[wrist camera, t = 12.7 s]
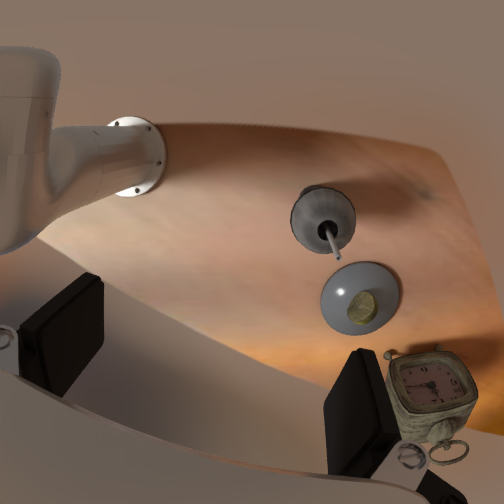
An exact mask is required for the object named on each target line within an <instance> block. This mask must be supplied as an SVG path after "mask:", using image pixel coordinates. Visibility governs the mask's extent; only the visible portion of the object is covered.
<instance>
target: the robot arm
mask: <svg viewBox="0 0 504 504" xmlns="http://www.w3.org/2000/svg"><path fill="white" fill-rule="evenodd" d="M60 80H61V67H60V63H59V60H58V59H57V57H56V56H55V55H53V54H52V53H50V52H49V51H46V50H43V49H39V48H34V47H24V46H0V255H4V254H7V253H10V252H12V251H15V250H17V249H19V248H20V247H22V246H23V245H25V244H27V243H28V242H30V241H31V240H32V239H33V238H35V237H36V236H37V235H38V234H39V233H40V232H41V231H42V230H44V229H45V228H46V227H47V226H48V225H49V224H50V223H52V222H53V221H54V220H56V219H57V218H59V217H61V216H63V215H65V214H67V213H69V212H71V211H73V210H75V209H78V208H80V207H83V206H85V205H88V204H90V203H93V202H95V201H98V200H100V199H103V198H105V197H108V196H110V195H113V194H116V195H118V196H121V197H135V196H138V195H141V194H144V193H146V192H147V191H149V190H150V189H152V188H153V187H154V186H155V185H156V184H157V182H158V181H159V179H160V178H161V176H162V174H163V172H164V169H165V165H166V157H167V152H166V145H165V142H164V138H163V136H162V135H161V133H160V131H159V130H158V129H157V127H156V126H155V125H154V124H152V123H151V122H150V121H148V120H146V119H144V118H141V117H136V116H126V117H121V118H118V119H116V120H114V121H112V122H111V123H110V124H108V125H107V126H64V127H58V128H55V129H52V124H53V118H54V112H55V107H56V101H57V96H58V91H59V86H60ZM150 127H151V130H149V128H150ZM160 161H161V163H162V164H160ZM139 189H140V191H139ZM103 342H104V283H103V282H102V281H101V278H100V277H99V276H96V275H94V274H91V273H88V272H85V273H84V274H82V275H81V276H80V277H79V278H77V279H76V280H75V281H74V282H72V283H71V284H70V285H68V286H67V287H66V288H65V289H63V290H62V291H61V292H60V293H58V294H57V295H56V296H55V297H53V298H52V299H51V300H50V301H48V302H47V303H46V304H45V305H44V306H42V307H41V308H40V309H39V310H38V311H36V312H35V313H34V314H33V315H32V316H30V317H29V318H28V319H27V320H26V321H25V322H23V323H22V324H21V325H20V329H19V330H17V331H15V330H14V329H13V328H11V327H9V326H6V325H0V504H468V503H467V500H466V498H465V496H464V495H463V494H462V493H461V492H460V491H458V490H457V489H455V488H454V487H452V486H451V485H450V484H448V483H447V482H445V481H444V480H442V479H441V478H440V477H438V476H437V475H436V474H434V473H433V472H431V471H430V470H428V467H429V463H430V457H429V455H428V452H427V451H426V449H425V448H424V447H423V446H422V445H421V444H419V443H417V442H415V441H413V440H402V437H401V433H400V430H399V426H398V423H397V420H396V416H395V413H394V410H393V406H392V403H391V400H390V397H389V393H388V391H387V388H386V385H385V382H384V379H383V376H382V373H381V370H380V367H379V364H378V361H377V358H376V355H375V352H374V351H373V350H368V349H363V348H358V349H357V350H356V351H352V352H351V354H350V356H349V358H348V360H347V362H346V363H345V365H344V367H343V369H342V371H341V373H340V375H339V377H338V378H337V380H336V382H335V384H334V386H333V387H332V389H331V391H330V393H329V394H328V396H327V398H326V400H325V402H324V407H323V409H324V421H325V435H326V448H327V462H328V463H327V464H328V475H325V474H316V473H309V472H301V471H294V470H286V469H280V468H274V467H268V466H262V465H257V464H252V463H246V462H242V461H238V460H233V459H228V458H225V457H220V456H216V455H212V454H208V453H204V452H201V451H197V450H193V449H190V448H186V447H183V446H180V445H177V444H173V443H170V442H167V441H164V440H161V439H158V438H155V437H152V436H149V435H147V434H144V433H141V432H138V431H136V430H133V429H130V428H128V427H125V426H123V425H120V424H117V423H115V422H113V421H110V420H108V419H106V418H103V417H101V416H99V415H96V414H94V413H92V412H90V411H87V410H85V409H83V408H81V407H79V406H76V405H75V404H73V403H71V402H68V401H66V400H64V399H62V397H63V396H64V394H65V393H66V392H67V391H68V389H69V388H70V387H71V385H72V384H73V383H74V381H75V380H76V379H77V377H78V376H79V375H80V374H81V372H82V371H83V370H84V368H85V367H86V366H87V364H88V363H89V362H90V361H91V359H92V358H93V357H94V355H95V354H96V353H97V352H98V350H99V349H100V348H101V347H102V345H103Z"/></svg>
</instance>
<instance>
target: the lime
mask: <svg viewBox="0 0 504 504" xmlns="http://www.w3.org/2000/svg"><path fill="white" fill-rule="evenodd" d="M377 313H378V304H377V301H376V299H375V298H374V296H373V295H371V294H370V293H368V292H359V293H357V294H356V295H355V296H354V297H353V298H352V300H351V301H350V304H349V306H348V308H347V315H348V317H349V319H350V320H351V321H352V322H353V323H356V324H362V325H364V324H367V323H369V322H370V321H372V320H373V319H374V318H375V317H376V315H377Z"/></svg>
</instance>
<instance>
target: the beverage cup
mask: <svg viewBox="0 0 504 504" xmlns="http://www.w3.org/2000/svg"><path fill="white" fill-rule="evenodd" d="M290 224H291V228H292V232H293V234H294V236H295V237H296V239H297V241H299V242H300V243H301V244H302V245H303V246H304V247H305V248H306V249H308V250H310V251H312V252H315V253H319V254H329V253H334V255H335V258H336V260H337V261H340V260H341V259H342V257H341V254H340V252H339V250H340V249H342V248H344V247H345V246H346V245H347V244H348V243H349V242H350V240H351V238H352V236H353V234H354V232H355V227H356V215H355V209H354V207H353V205H352V203H351V201H350V200H349V199H348V198H347V197H346V196H345V195H344V194H343V193H342V192H340V191H337V190H335V189H333V188H326V187H322V186H318V185H311V186H308V187H306V188H305V189H304V190H303V191H302V192H301V193H300V196H299V198H298V200H297V201H296V202H295V204H294V207H293V209H292V211H291V218H290Z"/></svg>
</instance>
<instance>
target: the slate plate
mask: <svg viewBox="0 0 504 504" xmlns="http://www.w3.org/2000/svg"><path fill="white" fill-rule="evenodd" d="M359 292H368V293H370V294H371V295H373V296H374V298H375V299H376V301H377V304H378V313H377V315H376V317H375V318H374V319H373V320H372V321H370V322H369V323H367V324H364V325H362V324H356V323H353V322H352V321H351V320H350V319H349V317H348V315H347V308H348V306H349V304H350V301H351V300H352V298H353V297H354V296H355V295H356V294H357V293H359ZM398 301H399V289H398V285H397V282H396V280H395V279H394V277H393V276H392V274H391V273H390V272H389V271H388V270H387V269H386V268H384V267H383V266H381V265H379V264H377V263H373V262H366V261H362V262H355V263H351V264H348V265H346V266H344V267H342V268H340V269H339V270H337V271H336V272H335V273H334V274H333V275H332V276H331V277H330V278H329V279H328V281H327V282H326V284H325V286H324V288H323V290H322V294H321V310H322V314H323V317H324V319H325V320H326V322H327V323H328V324H329V326H330V327H332V328H333V329H334V330H336V331H337V332H340V333H342V334H346V335H352V336H357V335H365V334H368V333H371V332H373V331H376V330H377V329H379V328H381V327H382V326H383V325H384V324H386V323H387V322H388V321H389V319H390V318H391V317H392V316H393V314H394V312H395V310H396V308H397V305H398Z"/></svg>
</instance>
